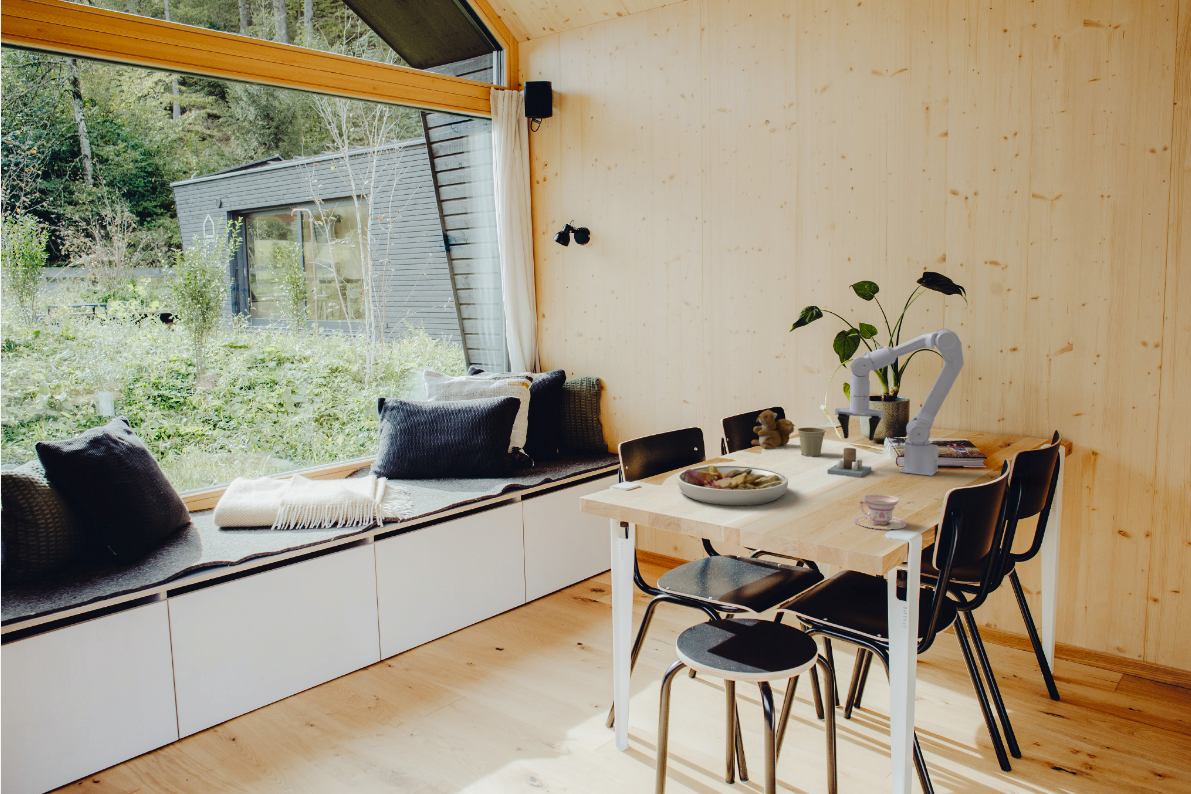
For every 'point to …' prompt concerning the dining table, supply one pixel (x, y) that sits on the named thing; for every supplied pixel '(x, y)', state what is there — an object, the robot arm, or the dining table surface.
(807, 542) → the dining table surface
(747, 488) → the bowl
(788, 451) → the dining table surface
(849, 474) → the peg pad
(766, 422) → the stuffed squirrel
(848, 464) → the walnut pin
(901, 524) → the teacup
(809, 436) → the flower pot
